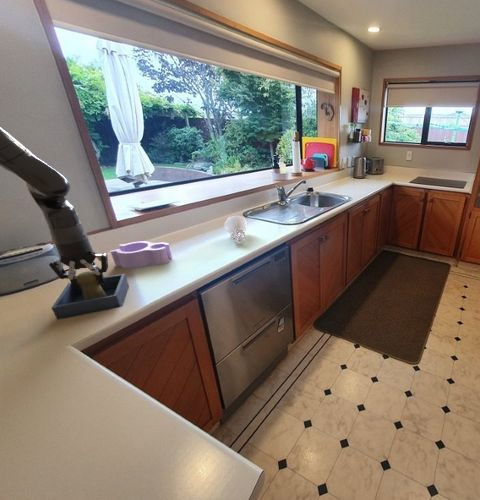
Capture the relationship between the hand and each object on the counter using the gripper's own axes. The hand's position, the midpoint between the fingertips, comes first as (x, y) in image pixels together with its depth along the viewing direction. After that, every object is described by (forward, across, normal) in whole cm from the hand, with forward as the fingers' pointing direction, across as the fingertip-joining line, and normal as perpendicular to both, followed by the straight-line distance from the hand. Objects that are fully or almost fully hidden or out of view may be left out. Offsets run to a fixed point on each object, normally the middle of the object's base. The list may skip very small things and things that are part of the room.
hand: (90, 285), depth 93 cm
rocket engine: (+7, -50, -39) cm, 64 cm away
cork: (+7, 0, 0) cm, 7 cm away
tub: (+7, 0, 0) cm, 7 cm away
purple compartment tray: (+7, -11, -29) cm, 32 cm away
